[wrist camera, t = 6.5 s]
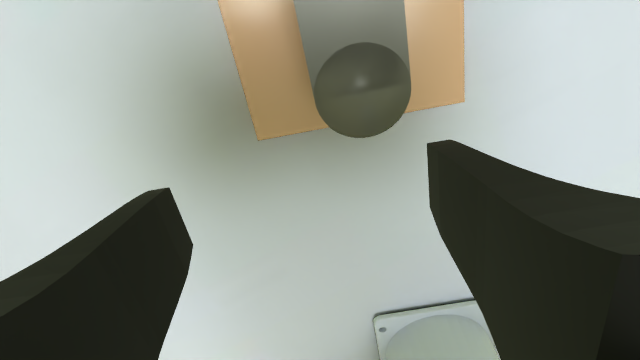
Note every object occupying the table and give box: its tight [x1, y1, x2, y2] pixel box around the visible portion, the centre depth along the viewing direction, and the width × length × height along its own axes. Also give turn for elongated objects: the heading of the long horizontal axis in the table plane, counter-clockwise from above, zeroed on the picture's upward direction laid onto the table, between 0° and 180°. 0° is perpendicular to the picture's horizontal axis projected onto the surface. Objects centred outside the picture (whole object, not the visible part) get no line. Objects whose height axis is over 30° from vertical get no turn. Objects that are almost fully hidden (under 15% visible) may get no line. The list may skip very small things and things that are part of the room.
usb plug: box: [293, 0, 411, 138], centre depth 15 cm, size 8×4×4 cm, turn 11°
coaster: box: [218, 0, 465, 141], centre depth 17 cm, size 10×10×1 cm
